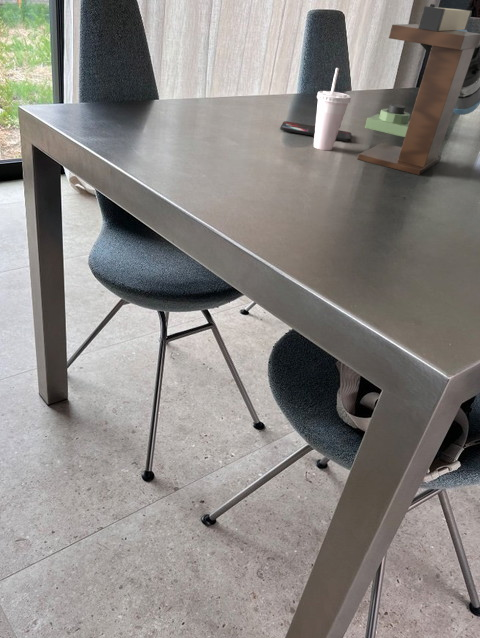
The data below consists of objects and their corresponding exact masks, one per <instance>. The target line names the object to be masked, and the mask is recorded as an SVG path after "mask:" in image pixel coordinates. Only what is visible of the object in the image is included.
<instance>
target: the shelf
mask: <svg viewBox="0 0 480 638" xmlns="http://www.w3.org/2000/svg"><path fill="white" fill-rule="evenodd" d="M390 27H391V28H390V32H389V35H388V39H390V40H397V41H403V42H407V43H408V42H409V43H414V44H420V45H421V44H426V45H432V49H431V52H430V54H429V55H428V58H427V62H426V65H425V69H424V72H423V75H422V79H421V82H420V85H419V89H418V92H417V96H416V99H415V102H414V105H413V108H412V112H411V114H410V118H409V121H410V122H409V125H408V128H407V132H406V135H405V137H403V143H402V146H399V145H395V144H391V143H385V142H381V143H379V144H376V145H374V146H373V147H370V148H369V149H366V150H364V151H362V152H360V153H359V154H358V155H357V160H359V161H362V162H365V163H366V162H367V163H370V164H374V165H378V166H382V167H385V168H389V169H392V170H393V169H394V170H398V171H402V172H405V173H408V174H413V175H416V176H420V175H422V174H423V173H425V172H426V171H427V170H429V169H430V168H431V167H433V166H434V165H435V164H436V163H437V164H438V162H439V161H440V159H441V156H439V155H440V153H441V150H442V147H443V143H444V140H445V138H446V135H447V132H448V129H449V126H450V123H451V120H452V117H453V115H454V112H453V111H454V108H455V105H456V103H457V100H458V97H459V94H460V91H461V88H462V85H463V82H464V79H465V76H466V73H467V70H468V67H469V64H470V61H471V58H472V55H473V52H474V50H475V47H478V44H479V41H480V33H478V32H477V33H476V32H470V31H467V32H465V31H458V30H448V31H431V30H424V29H418V27H419V24H418V23H405V24H404V23H403V24H397V23H395V24H391V26H390Z"/></svg>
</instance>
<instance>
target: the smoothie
mask: <svg viewBox="0 0 480 638" xmlns="http://www.w3.org/2000/svg"><path fill="white" fill-rule="evenodd" d="M339 70H340V68H339V67H335V71H334V75H333V80H332V84H331V90H320V91H319V90H318V92H317V95H316V99H317V106H316V115H315V125H314V126H315V136H313V137H314V138H313V148H315V149H317V150H321V151H332V150H333V148H334V145H335V143H336V140H335V139H336V137H337V134H338V131H339V130H340V127H341V125H342V123H343V120H344V117H345V114H346V112H347V108H348V106H349V104H350V103H351V100H352V96H351V95H350V94H346V93H343V92H339V91H335V88H336V84H337V79H338V76H339Z"/></svg>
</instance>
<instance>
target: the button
mask: <svg viewBox="0 0 480 638" xmlns="http://www.w3.org/2000/svg"><path fill="white" fill-rule="evenodd" d="M387 109H388V112H390V113H395V114H404V112H406V106H405V105H402V104H397V103H390V104H389V105H388V108H387Z"/></svg>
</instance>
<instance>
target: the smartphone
mask: <svg viewBox="0 0 480 638" xmlns="http://www.w3.org/2000/svg"><path fill="white" fill-rule="evenodd" d="M315 126H316V125H311V124H305V123H299V122H294V121H283V122H282V124H281V125H280V127H279V130H281V131H284V132H288V133H289V132H290V133H295V134H301V135H305V136H312V137H314V136H315ZM351 140H352V132H350V131H345V130H340V129H339V131H338V134H337V137H336V139H335V141H342V142H347V143H349V142H351Z"/></svg>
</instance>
